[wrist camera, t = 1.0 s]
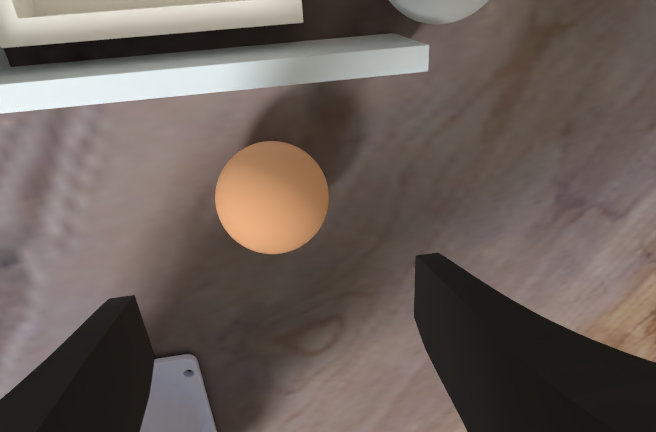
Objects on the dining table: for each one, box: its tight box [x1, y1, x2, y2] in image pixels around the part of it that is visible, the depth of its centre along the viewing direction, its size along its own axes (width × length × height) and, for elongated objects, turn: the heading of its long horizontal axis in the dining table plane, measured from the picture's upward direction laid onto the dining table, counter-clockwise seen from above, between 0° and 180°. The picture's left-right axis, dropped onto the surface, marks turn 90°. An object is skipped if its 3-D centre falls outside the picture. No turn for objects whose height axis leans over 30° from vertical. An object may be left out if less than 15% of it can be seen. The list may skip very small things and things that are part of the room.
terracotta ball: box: [215, 141, 329, 254], centre depth 18 cm, size 4×4×4 cm
